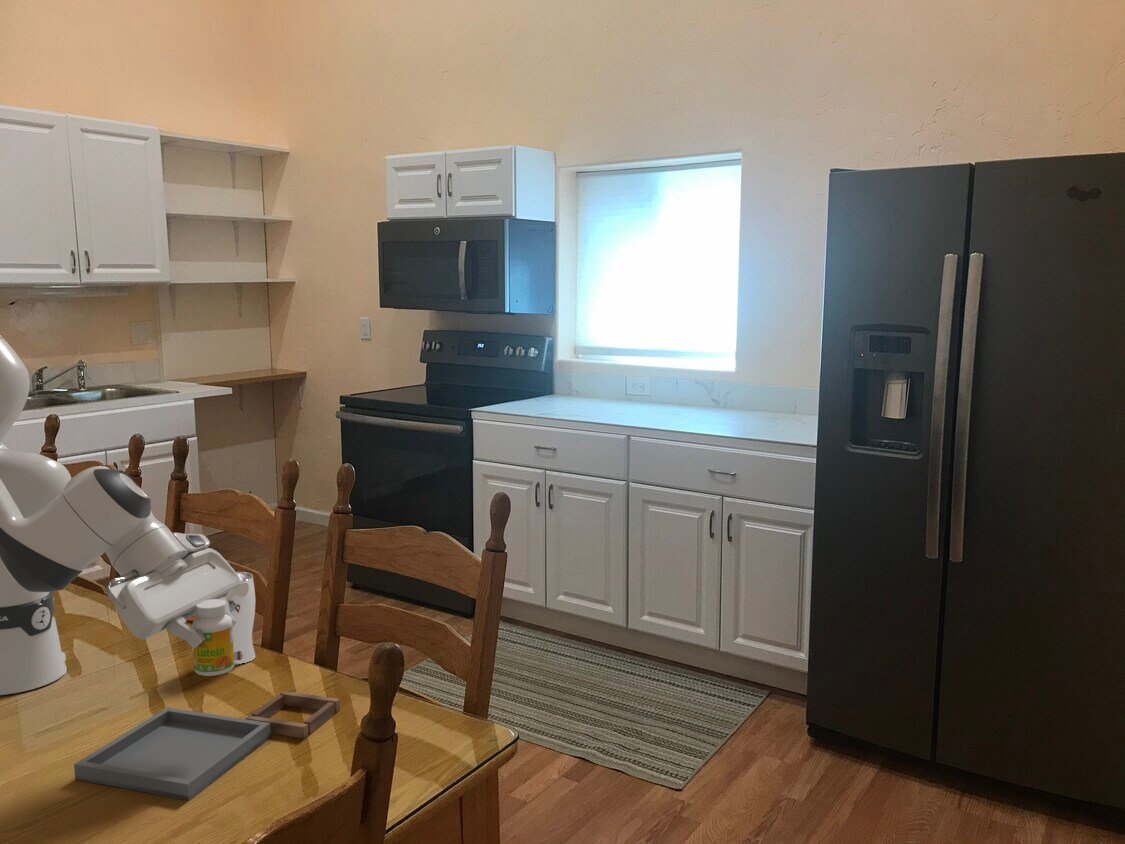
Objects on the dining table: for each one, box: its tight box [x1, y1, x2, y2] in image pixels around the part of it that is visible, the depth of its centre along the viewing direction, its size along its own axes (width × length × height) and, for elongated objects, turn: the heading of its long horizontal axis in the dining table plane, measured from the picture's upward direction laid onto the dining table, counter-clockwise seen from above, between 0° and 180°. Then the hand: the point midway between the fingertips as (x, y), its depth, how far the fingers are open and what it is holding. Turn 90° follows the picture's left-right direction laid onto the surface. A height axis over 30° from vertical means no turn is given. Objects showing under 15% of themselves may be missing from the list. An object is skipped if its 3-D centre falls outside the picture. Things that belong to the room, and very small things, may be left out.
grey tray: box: [73, 707, 272, 801], centre depth 131 cm, size 18×18×2 cm
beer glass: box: [226, 571, 256, 666], centre depth 165 cm, size 7×7×15 cm
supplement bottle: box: [191, 599, 235, 677], centre depth 133 cm, size 5×5×10 cm
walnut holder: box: [244, 690, 341, 740], centre depth 143 cm, size 10×10×2 cm
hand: (216, 635), depth 133 cm, fingers closed on supplement bottle, 5 cm apart
